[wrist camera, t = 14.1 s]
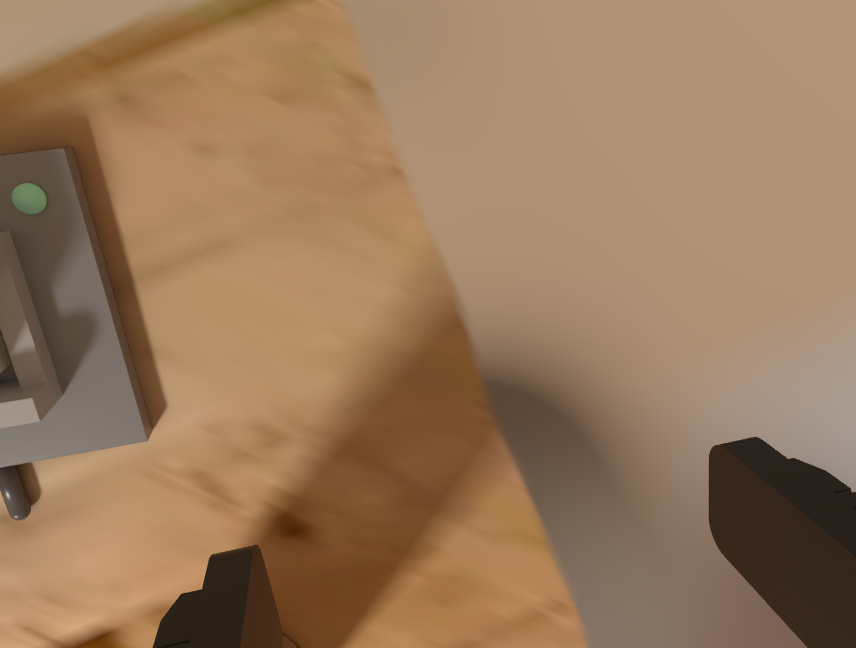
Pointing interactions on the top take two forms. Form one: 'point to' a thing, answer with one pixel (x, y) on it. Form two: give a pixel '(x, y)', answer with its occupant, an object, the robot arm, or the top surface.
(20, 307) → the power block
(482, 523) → the top surface
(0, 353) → the charger block
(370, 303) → the top surface
